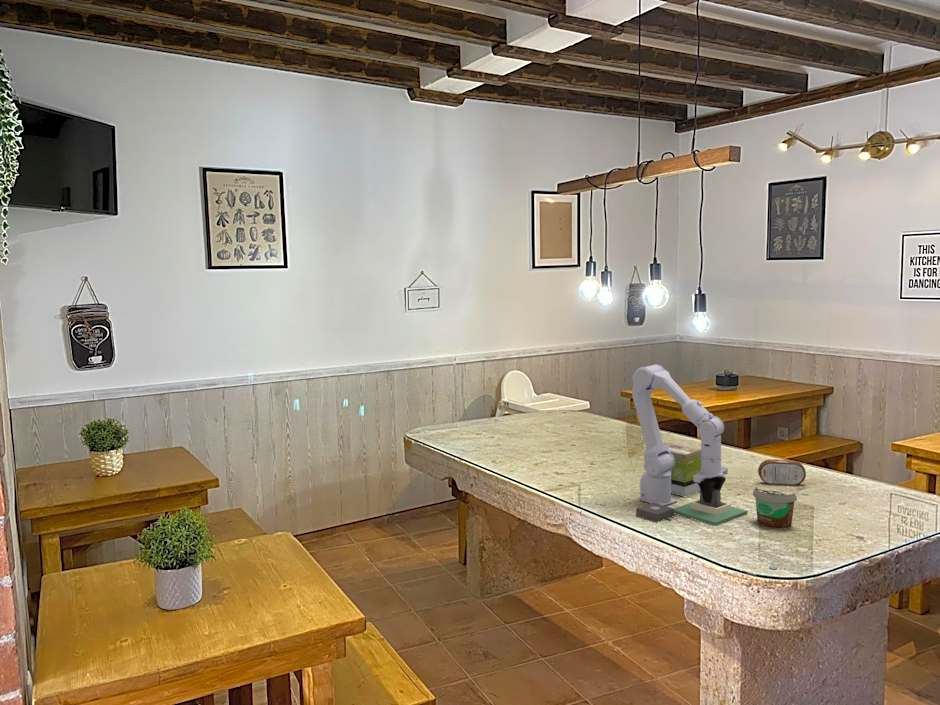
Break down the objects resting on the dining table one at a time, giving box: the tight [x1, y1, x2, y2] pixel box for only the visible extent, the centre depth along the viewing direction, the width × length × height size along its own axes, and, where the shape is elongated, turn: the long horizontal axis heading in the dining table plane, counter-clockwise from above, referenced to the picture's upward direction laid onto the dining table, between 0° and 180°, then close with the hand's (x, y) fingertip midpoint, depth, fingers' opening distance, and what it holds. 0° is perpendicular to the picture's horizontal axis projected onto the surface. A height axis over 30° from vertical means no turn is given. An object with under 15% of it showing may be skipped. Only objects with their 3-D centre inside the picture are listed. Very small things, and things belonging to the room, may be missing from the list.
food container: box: [752, 485, 798, 529], centre depth 212 cm, size 12×6×10 cm, turn 44°
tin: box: [757, 459, 807, 486], centre depth 251 cm, size 15×3×8 cm, turn 74°
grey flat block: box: [635, 503, 675, 523], centre depth 222 cm, size 10×8×3 cm
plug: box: [699, 488, 722, 508], centre depth 224 cm, size 6×3×6 cm, turn 37°
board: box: [674, 498, 748, 527], centre depth 224 cm, size 16×16×3 cm
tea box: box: [663, 441, 701, 498], centre depth 248 cm, size 15×10×15 cm
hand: (710, 501), depth 224 cm, fingers closed on plug, 3 cm apart
